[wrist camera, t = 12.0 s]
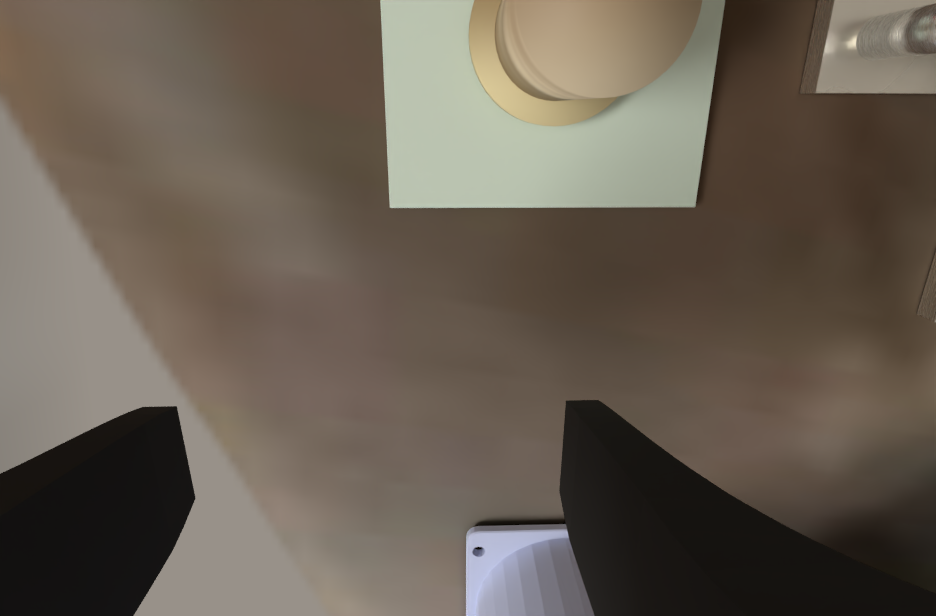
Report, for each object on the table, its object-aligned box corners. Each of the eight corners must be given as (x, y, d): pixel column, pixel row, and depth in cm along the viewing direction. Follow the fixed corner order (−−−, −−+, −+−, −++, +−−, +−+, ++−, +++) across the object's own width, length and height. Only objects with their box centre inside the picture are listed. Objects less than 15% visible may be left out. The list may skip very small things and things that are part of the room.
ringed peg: (628, 125, 17) (717, 134, 11) (468, 125, 17) (478, 133, 11) (647, -63, 15) (762, -162, 10) (469, -65, 15) (481, -168, 10)
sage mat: (690, 205, 18) (695, 207, 18) (391, 205, 18) (389, 207, 18) (742, -163, 15) (749, -170, 15) (374, -170, 15) (372, -178, 14)
